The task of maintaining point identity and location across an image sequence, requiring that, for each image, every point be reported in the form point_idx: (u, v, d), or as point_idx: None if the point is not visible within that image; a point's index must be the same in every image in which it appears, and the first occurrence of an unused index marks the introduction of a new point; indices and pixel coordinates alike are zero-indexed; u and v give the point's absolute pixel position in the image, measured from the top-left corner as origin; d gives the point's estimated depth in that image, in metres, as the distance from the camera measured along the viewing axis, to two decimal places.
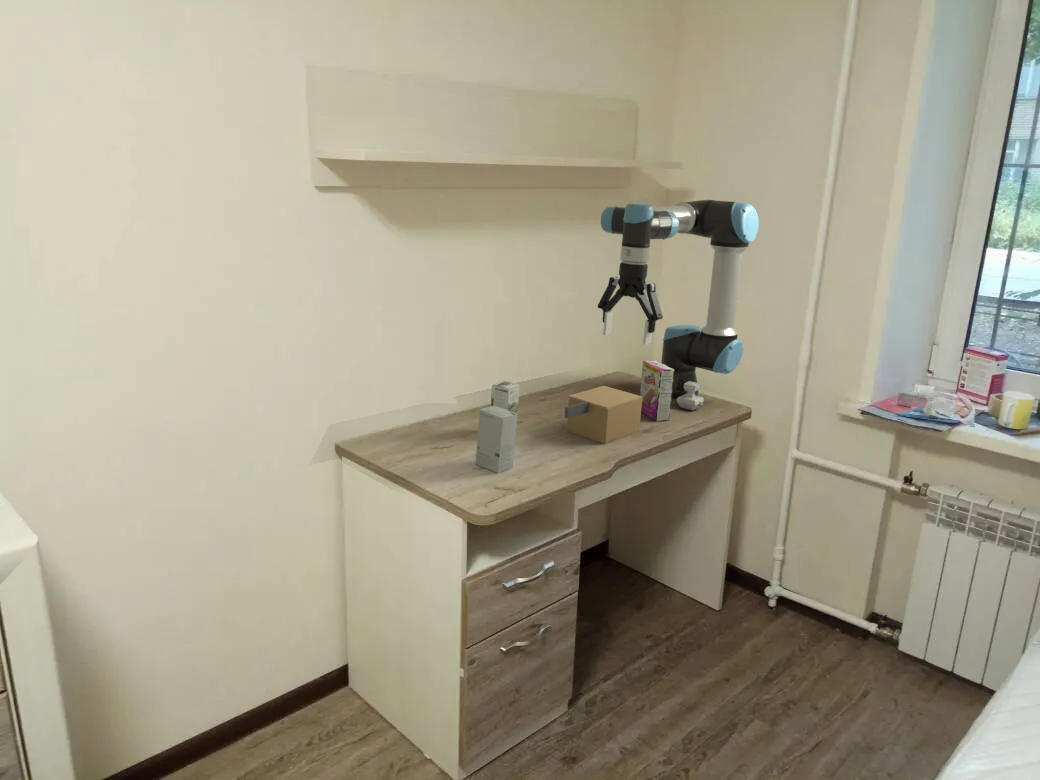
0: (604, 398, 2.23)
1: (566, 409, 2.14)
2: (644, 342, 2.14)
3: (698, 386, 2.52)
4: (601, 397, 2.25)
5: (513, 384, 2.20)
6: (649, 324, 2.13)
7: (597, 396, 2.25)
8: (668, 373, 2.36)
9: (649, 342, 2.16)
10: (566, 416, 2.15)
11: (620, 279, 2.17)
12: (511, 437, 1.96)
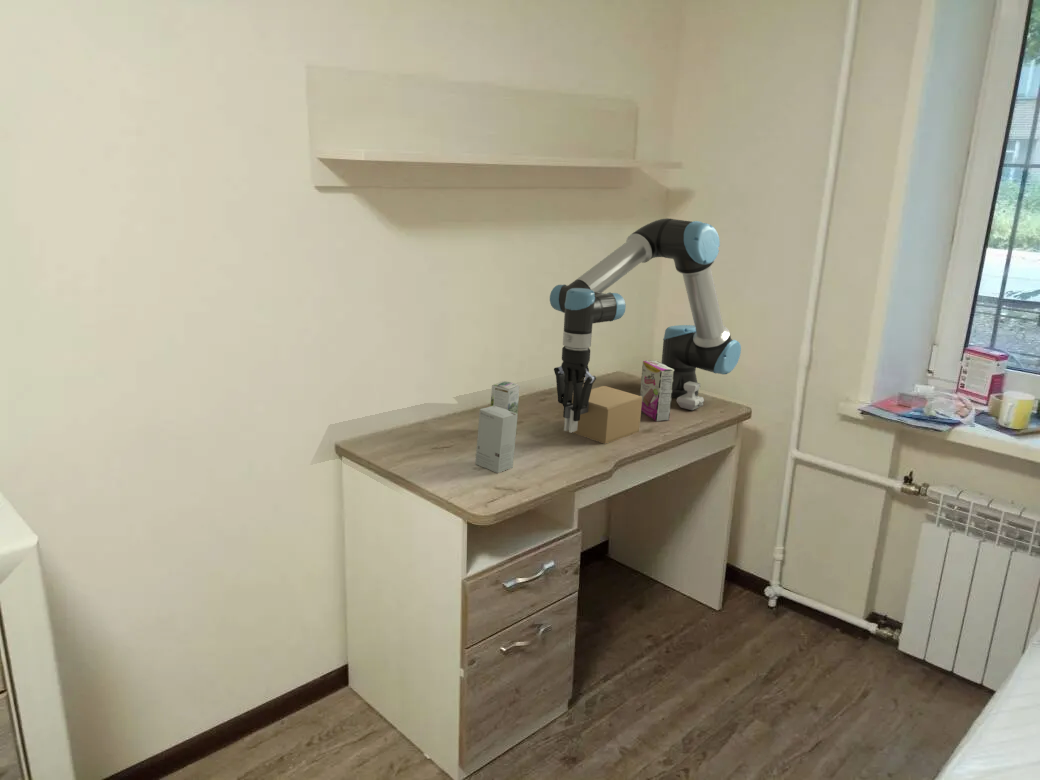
0: (604, 398, 2.23)
1: (566, 409, 2.14)
2: (570, 430, 2.16)
3: (698, 386, 2.52)
4: (601, 397, 2.25)
5: (513, 384, 2.20)
6: (574, 413, 2.15)
7: (597, 396, 2.25)
8: (668, 373, 2.36)
9: (575, 429, 2.17)
10: (566, 416, 2.15)
11: (562, 363, 2.14)
12: (511, 437, 1.96)
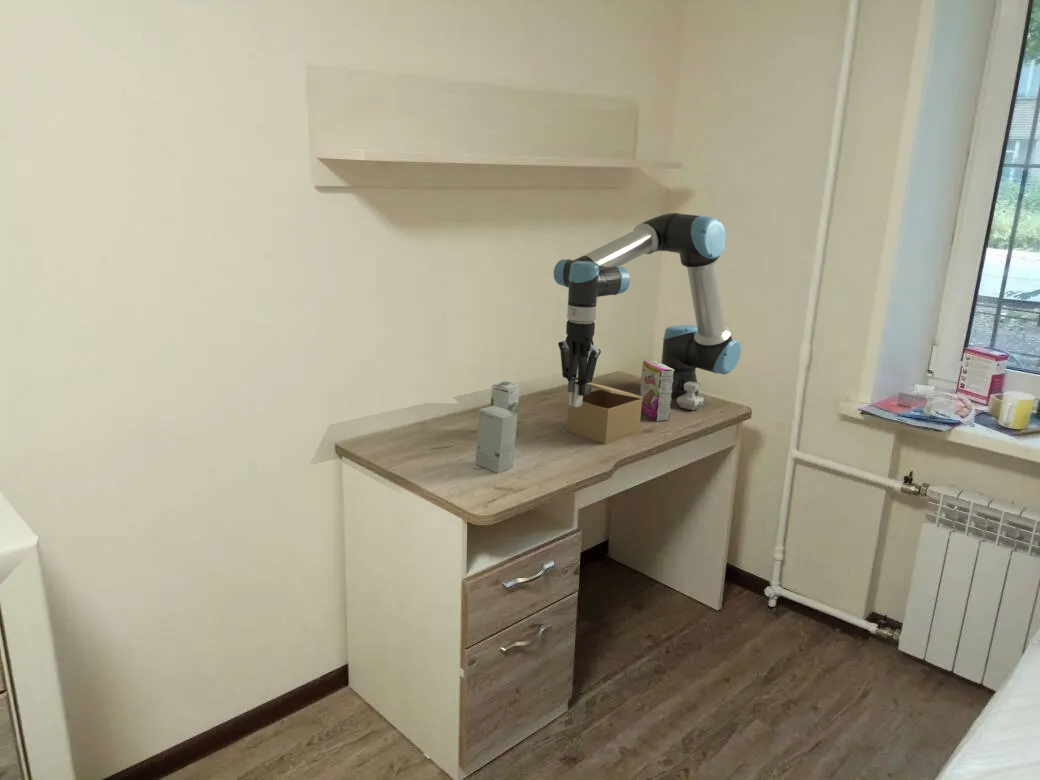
0: (606, 388, 2.23)
1: (571, 382, 2.13)
2: (575, 405, 2.15)
3: (698, 386, 2.52)
4: (603, 387, 2.24)
5: (513, 384, 2.20)
6: (579, 387, 2.14)
7: None
8: (668, 373, 2.36)
9: (580, 404, 2.16)
10: (569, 389, 2.13)
11: (566, 337, 2.13)
12: (511, 437, 1.96)
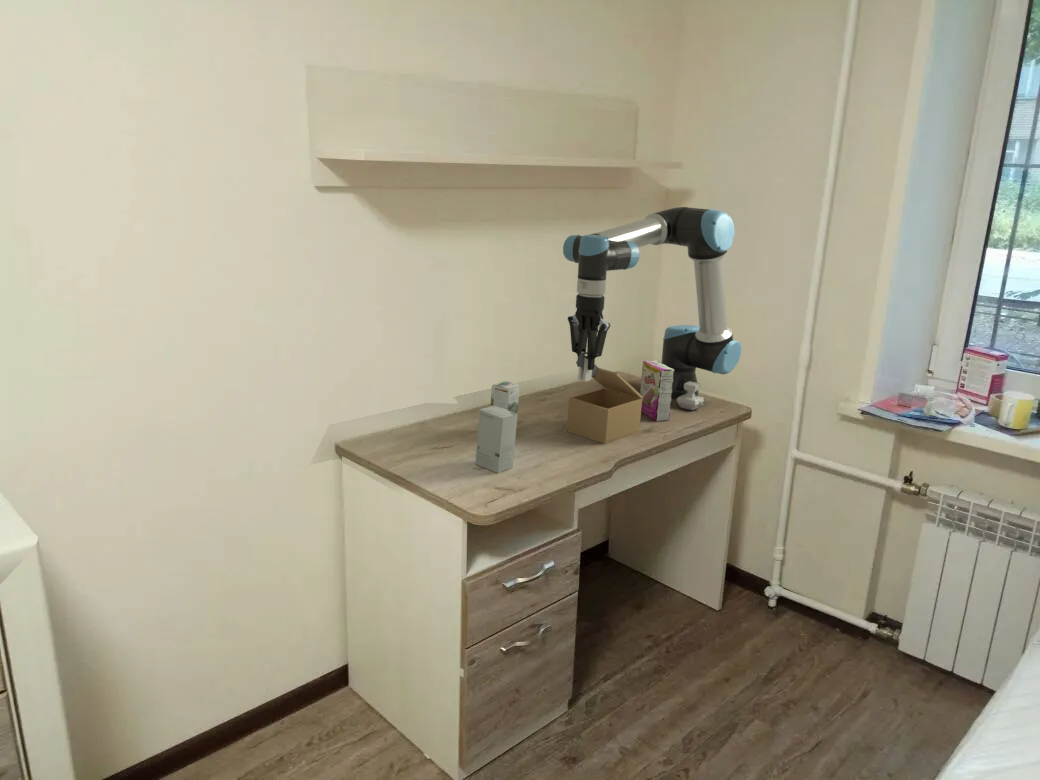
0: None
1: (581, 355, 2.13)
2: (584, 379, 2.15)
3: (698, 386, 2.52)
4: None
5: (513, 384, 2.20)
6: (588, 361, 2.14)
7: None
8: (668, 373, 2.36)
9: (589, 379, 2.17)
10: (578, 361, 2.13)
11: (576, 312, 2.13)
12: (511, 437, 1.96)
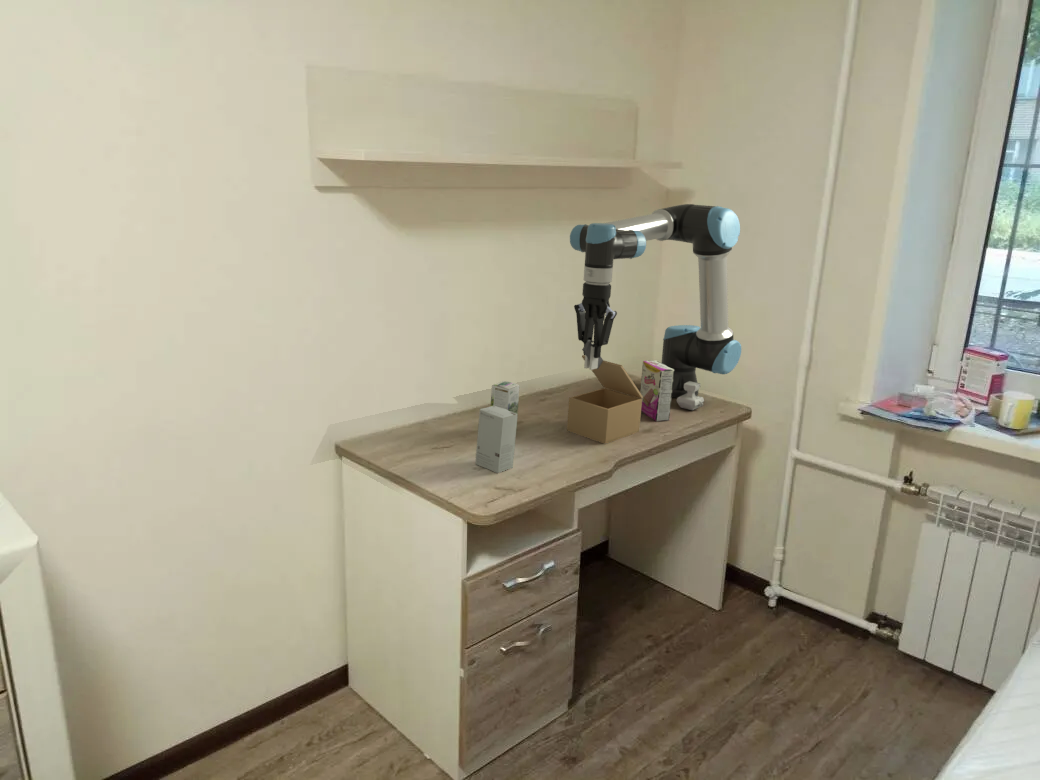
0: None
1: (587, 342, 2.14)
2: (590, 367, 2.16)
3: (698, 386, 2.52)
4: None
5: (513, 384, 2.20)
6: (595, 349, 2.15)
7: None
8: (668, 373, 2.36)
9: (595, 367, 2.17)
10: (584, 348, 2.14)
11: (582, 300, 2.14)
12: (511, 437, 1.96)
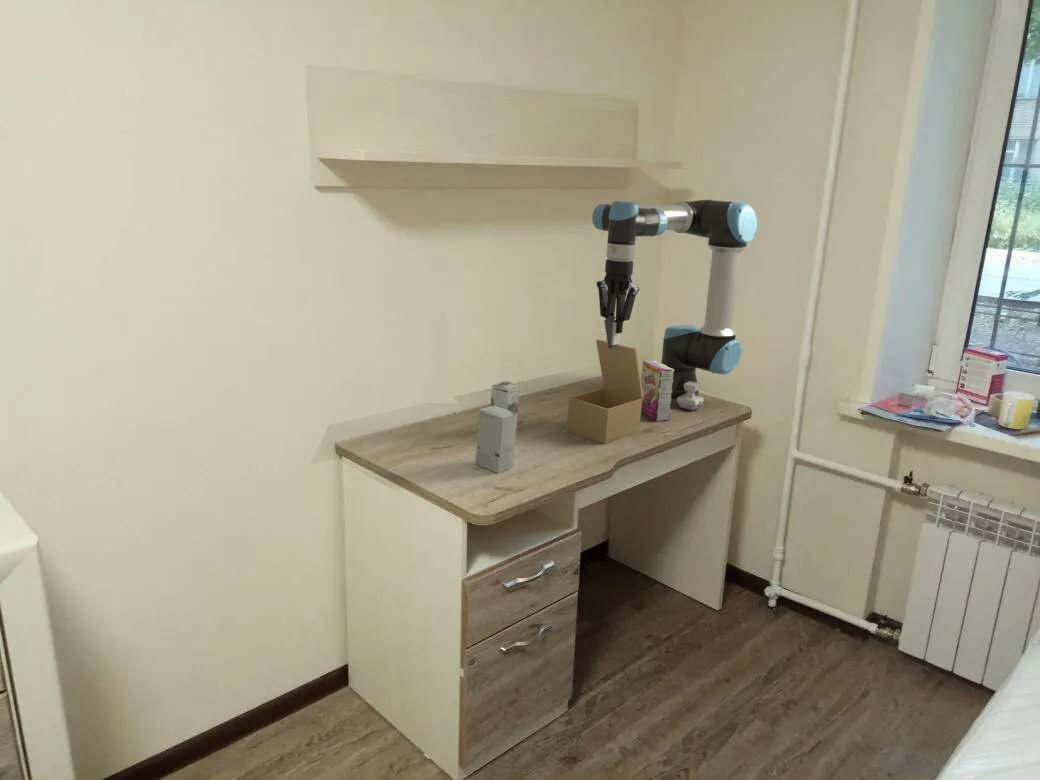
0: None
1: (610, 316, 2.19)
2: (612, 342, 2.21)
3: (698, 386, 2.52)
4: None
5: (513, 384, 2.20)
6: (617, 325, 2.20)
7: None
8: (668, 373, 2.36)
9: (617, 342, 2.22)
10: (607, 320, 2.18)
11: (605, 276, 2.19)
12: (511, 437, 1.96)
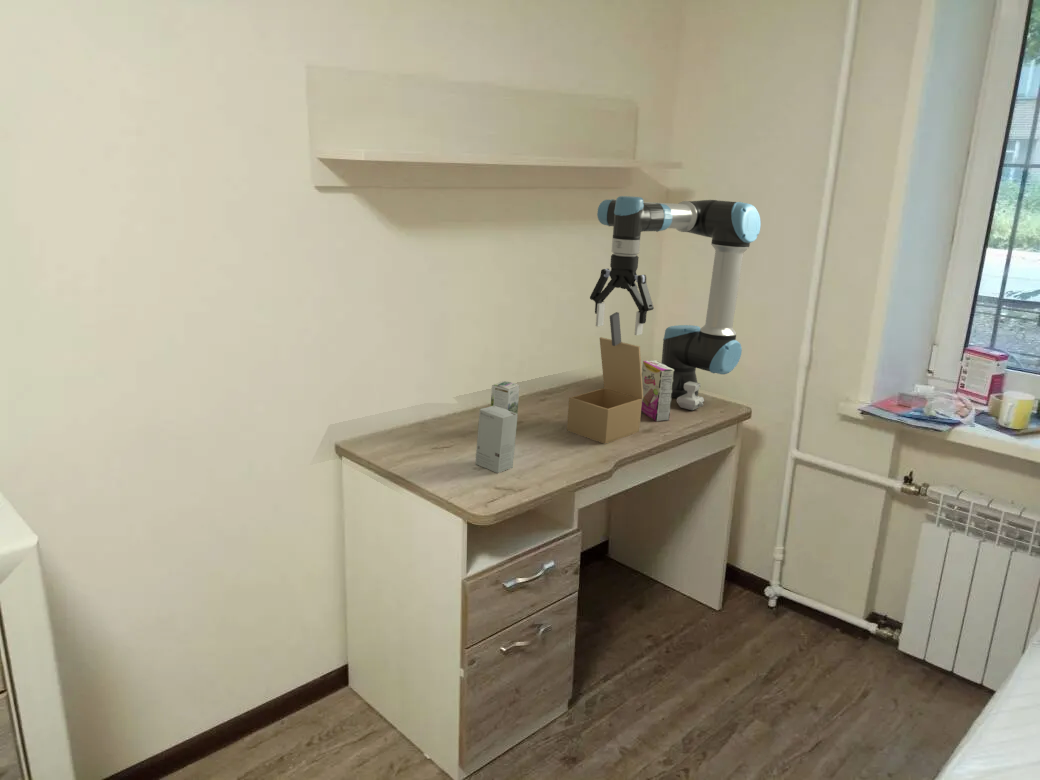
0: None
1: (616, 313, 2.21)
2: (635, 333, 2.18)
3: (698, 386, 2.52)
4: None
5: (513, 384, 2.20)
6: (640, 315, 2.16)
7: None
8: (668, 373, 2.36)
9: (640, 333, 2.19)
10: (612, 315, 2.19)
11: (611, 271, 2.20)
12: (511, 437, 1.96)
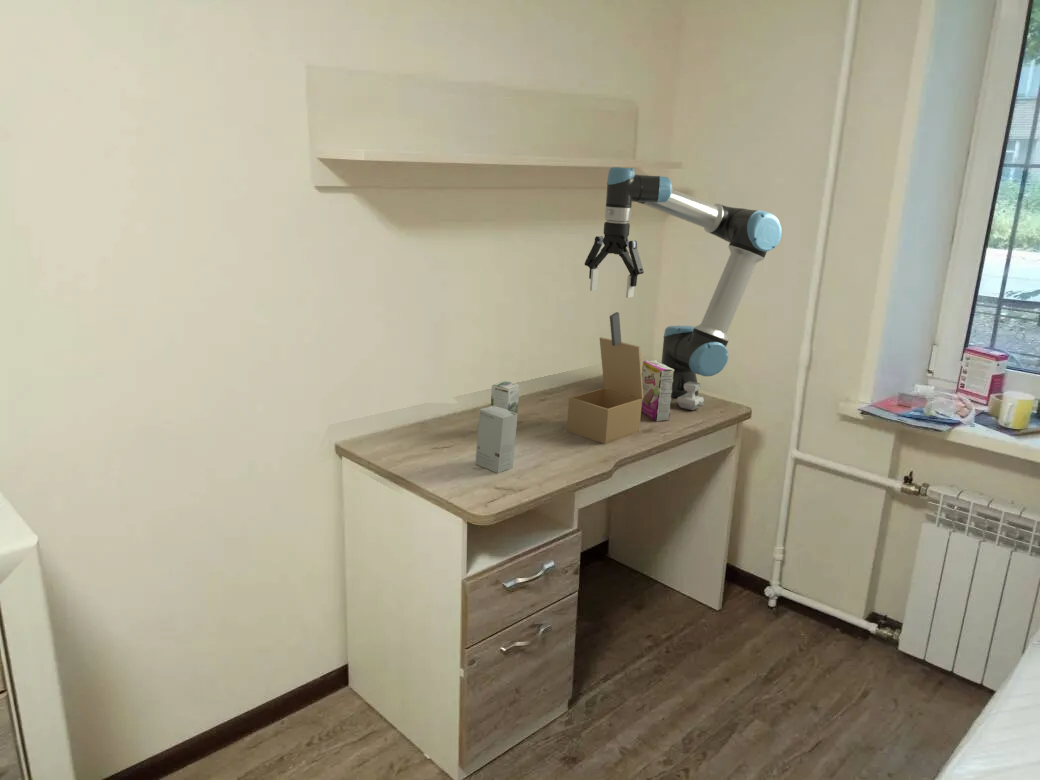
0: None
1: (616, 313, 2.21)
2: (627, 295, 2.33)
3: (698, 386, 2.52)
4: None
5: (513, 384, 2.20)
6: (631, 278, 2.32)
7: None
8: (668, 373, 2.36)
9: (631, 295, 2.34)
10: (612, 315, 2.19)
11: (605, 238, 2.35)
12: (511, 437, 1.96)
